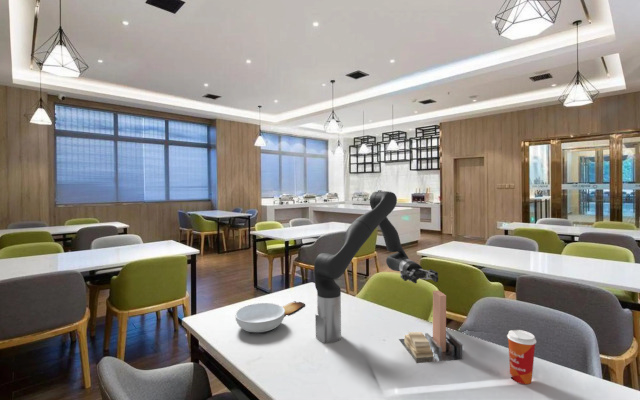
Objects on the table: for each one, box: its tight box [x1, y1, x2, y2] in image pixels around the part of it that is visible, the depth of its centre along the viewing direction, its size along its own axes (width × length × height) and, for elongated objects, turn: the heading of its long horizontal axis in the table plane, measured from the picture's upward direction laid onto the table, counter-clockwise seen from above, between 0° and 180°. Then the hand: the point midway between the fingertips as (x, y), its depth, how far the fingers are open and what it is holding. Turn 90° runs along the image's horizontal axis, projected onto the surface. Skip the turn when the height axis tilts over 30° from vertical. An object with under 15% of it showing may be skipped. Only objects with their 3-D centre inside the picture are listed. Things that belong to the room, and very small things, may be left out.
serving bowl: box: [234, 302, 285, 333], centre depth 141 cm, size 21×21×7 cm
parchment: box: [282, 300, 305, 317], centre depth 160 cm, size 25×10×1 cm, turn 146°
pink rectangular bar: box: [432, 289, 447, 352], centre depth 119 cm, size 6×2×20 cm, turn 7°
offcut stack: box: [403, 331, 433, 358], centre depth 118 cm, size 11×6×5 cm, turn 7°
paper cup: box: [506, 329, 537, 385], centre depth 101 cm, size 8×8×14 cm
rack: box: [398, 330, 464, 364], centre depth 119 cm, size 17×16×6 cm
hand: (426, 280), depth 129 cm, fingers open, 8 cm apart
